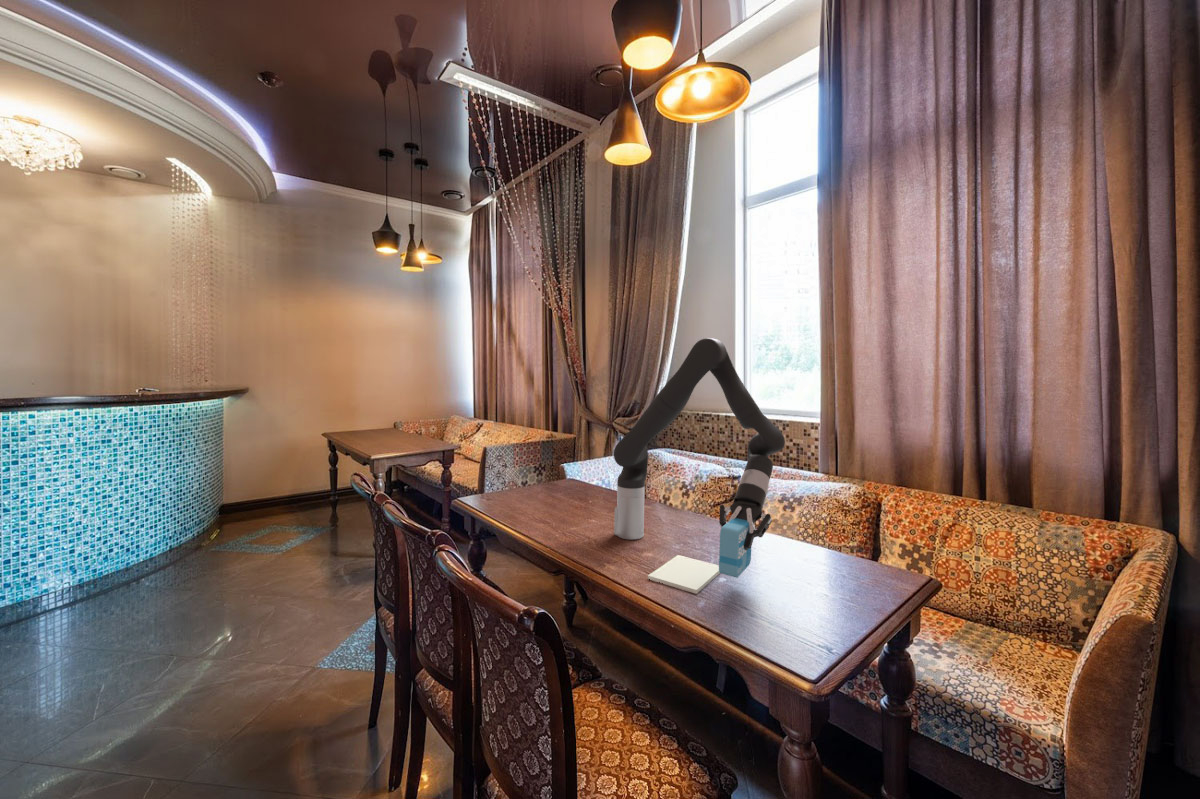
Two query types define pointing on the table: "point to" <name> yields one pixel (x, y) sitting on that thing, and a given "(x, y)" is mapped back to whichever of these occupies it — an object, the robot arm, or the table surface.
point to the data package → (734, 548)
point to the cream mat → (685, 573)
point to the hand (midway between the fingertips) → (735, 545)
